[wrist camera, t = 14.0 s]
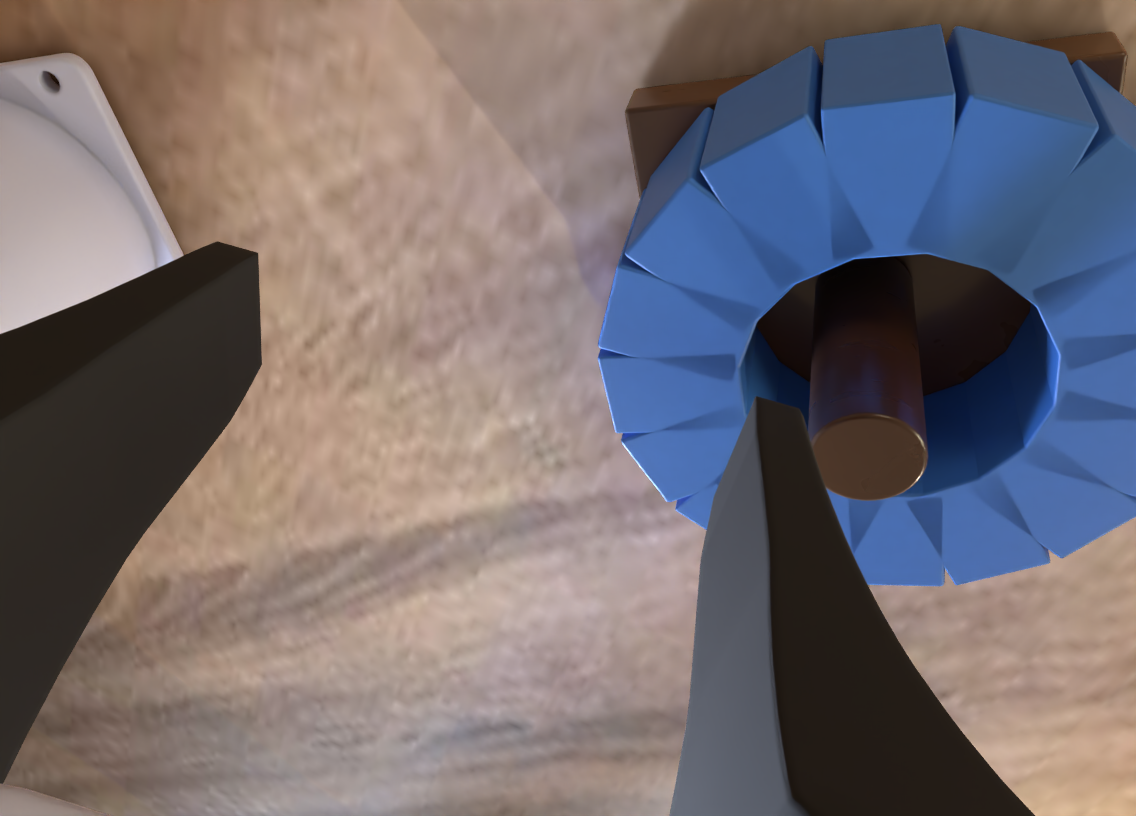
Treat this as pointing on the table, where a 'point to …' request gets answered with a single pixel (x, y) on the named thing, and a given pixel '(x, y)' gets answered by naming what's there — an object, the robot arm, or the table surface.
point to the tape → (894, 228)
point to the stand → (871, 312)
